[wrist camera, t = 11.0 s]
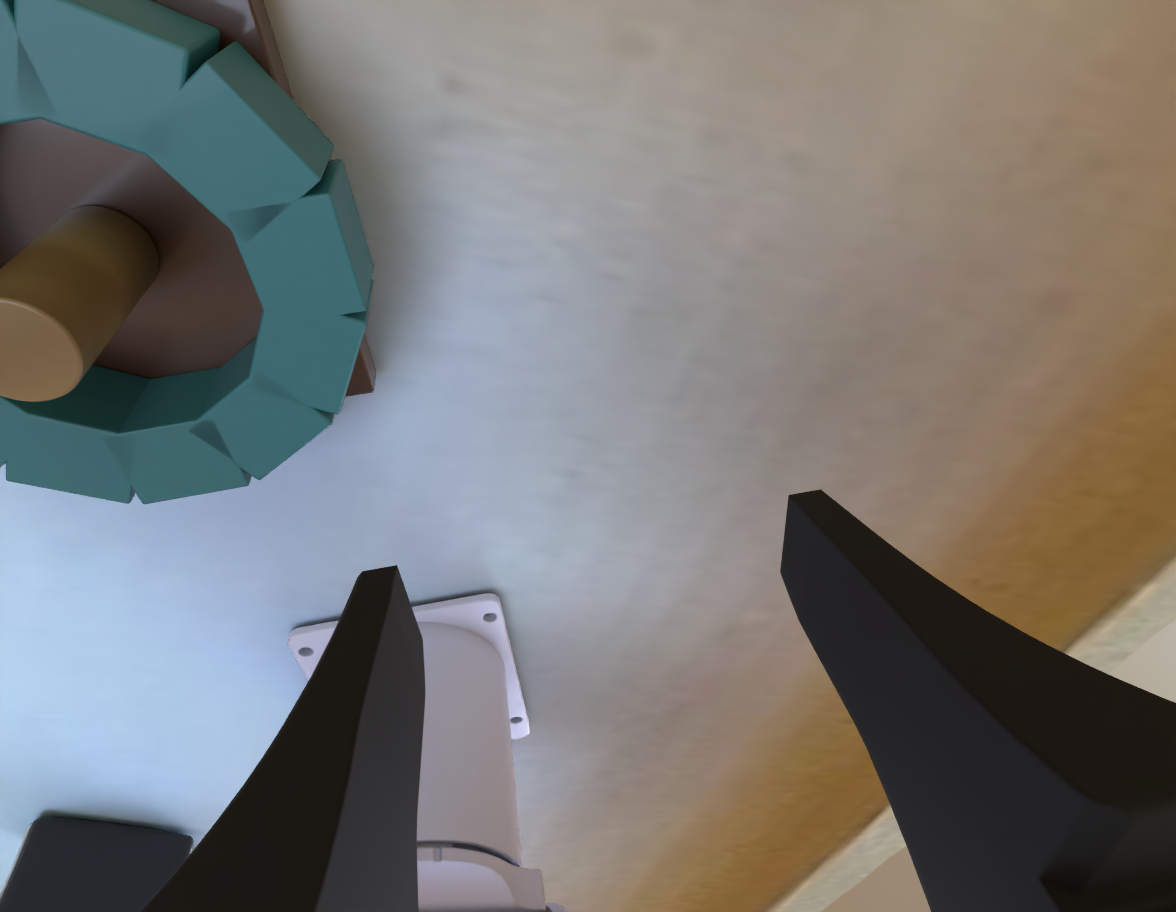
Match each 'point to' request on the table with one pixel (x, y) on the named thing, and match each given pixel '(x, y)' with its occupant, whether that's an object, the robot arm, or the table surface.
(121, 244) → the stand
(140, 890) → the battery charger
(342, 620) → the robot arm
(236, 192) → the ring
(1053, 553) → the table surface
